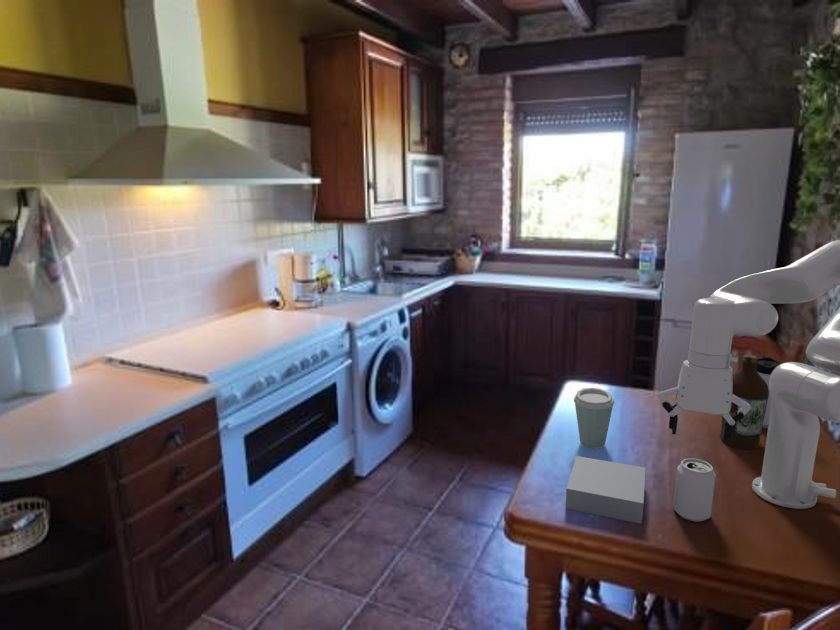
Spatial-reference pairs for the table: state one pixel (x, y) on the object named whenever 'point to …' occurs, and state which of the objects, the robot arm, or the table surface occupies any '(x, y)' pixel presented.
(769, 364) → the travel mug
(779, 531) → the table surface
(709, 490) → the can
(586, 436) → the disposable coffee cup
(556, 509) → the table surface
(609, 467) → the grey block
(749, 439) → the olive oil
